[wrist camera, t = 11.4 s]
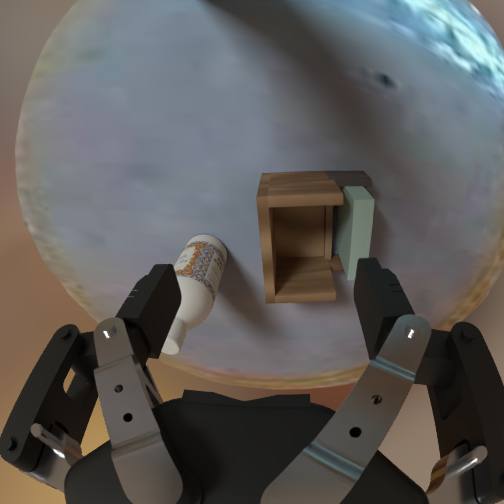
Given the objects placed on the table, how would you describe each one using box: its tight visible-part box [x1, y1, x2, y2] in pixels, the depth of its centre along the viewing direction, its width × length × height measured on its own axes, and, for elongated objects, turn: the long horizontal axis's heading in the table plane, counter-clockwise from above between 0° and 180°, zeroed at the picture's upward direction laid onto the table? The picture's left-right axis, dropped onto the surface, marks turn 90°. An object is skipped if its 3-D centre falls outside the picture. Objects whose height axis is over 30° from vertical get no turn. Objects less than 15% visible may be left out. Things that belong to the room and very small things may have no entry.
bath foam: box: [162, 235, 227, 355], centre depth 36 cm, size 7×7×20 cm
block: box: [336, 186, 375, 280], centre depth 35 cm, size 11×3×9 cm, turn 6°
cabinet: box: [256, 171, 372, 303], centre depth 36 cm, size 14×14×10 cm
